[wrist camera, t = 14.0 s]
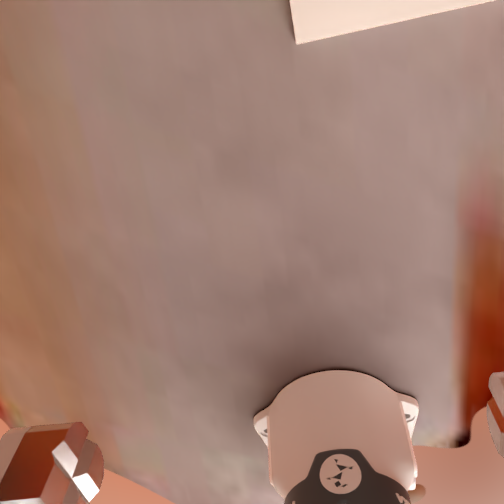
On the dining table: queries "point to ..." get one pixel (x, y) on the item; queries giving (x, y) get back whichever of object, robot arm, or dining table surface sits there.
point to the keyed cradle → (360, 14)
